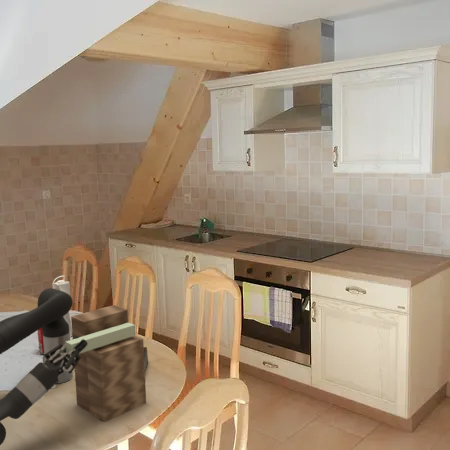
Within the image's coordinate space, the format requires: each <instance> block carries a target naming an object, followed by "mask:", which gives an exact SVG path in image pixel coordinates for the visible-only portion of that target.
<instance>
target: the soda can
mask: <svg viewBox="0 0 450 450" xmlns="http://www.w3.org/2000/svg"><path fill="white" fill-rule="evenodd" d="M37 339H38V350H39V352H38V353H40V354H42V355H43V354H44V343H43V332H42V329H41V328H40V329H39V330H37Z"/></svg>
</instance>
